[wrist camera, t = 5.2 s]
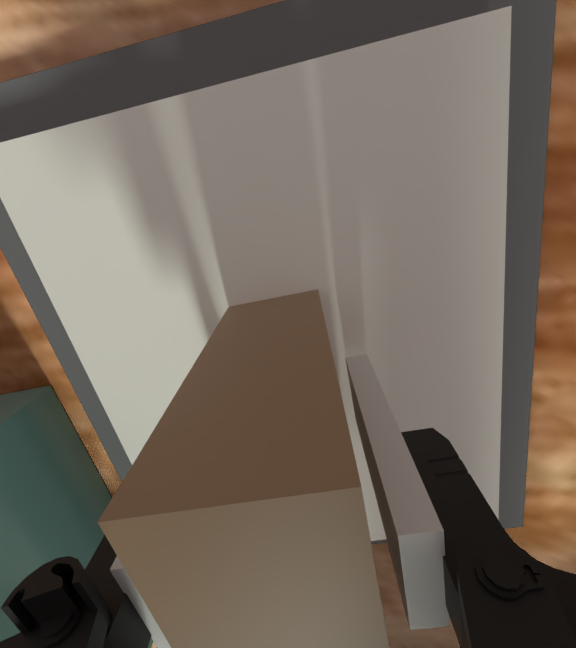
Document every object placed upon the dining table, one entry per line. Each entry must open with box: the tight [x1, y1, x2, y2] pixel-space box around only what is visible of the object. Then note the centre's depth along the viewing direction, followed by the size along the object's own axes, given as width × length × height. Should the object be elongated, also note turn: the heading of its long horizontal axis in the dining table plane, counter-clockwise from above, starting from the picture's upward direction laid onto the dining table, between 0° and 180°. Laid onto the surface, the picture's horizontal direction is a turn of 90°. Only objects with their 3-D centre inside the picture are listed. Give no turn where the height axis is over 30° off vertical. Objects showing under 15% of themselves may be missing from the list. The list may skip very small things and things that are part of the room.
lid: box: [0, 6, 512, 648], centre depth 10 cm, size 17×21×10 cm
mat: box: [0, 0, 556, 544], centre depth 15 cm, size 21×25×1 cm
